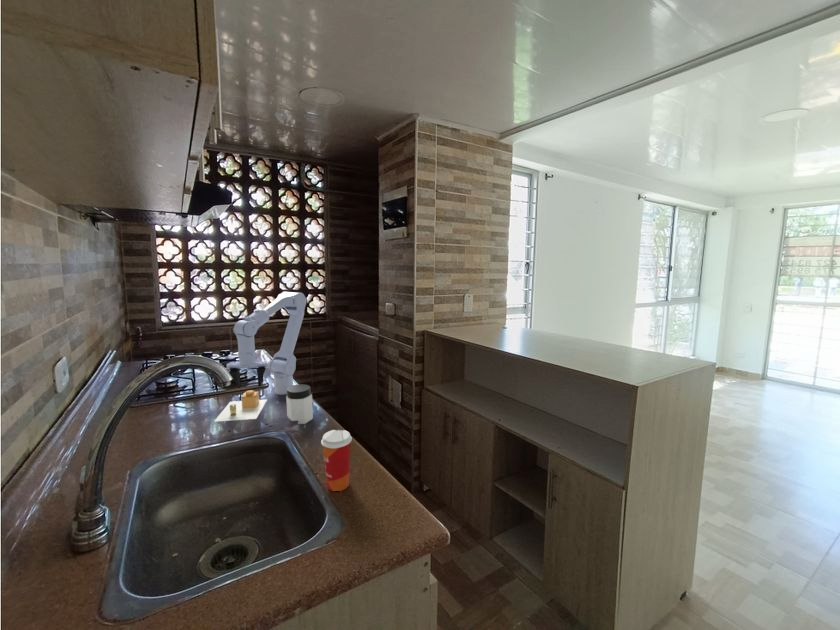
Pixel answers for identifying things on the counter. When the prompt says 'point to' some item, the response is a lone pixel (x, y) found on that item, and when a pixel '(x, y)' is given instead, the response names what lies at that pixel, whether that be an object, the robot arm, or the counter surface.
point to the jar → (299, 403)
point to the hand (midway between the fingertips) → (249, 386)
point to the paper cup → (337, 458)
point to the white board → (240, 412)
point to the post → (233, 410)
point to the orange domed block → (250, 399)
